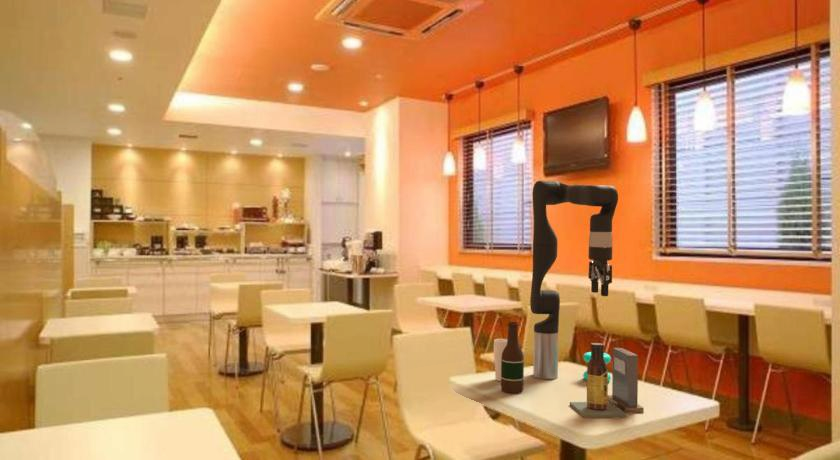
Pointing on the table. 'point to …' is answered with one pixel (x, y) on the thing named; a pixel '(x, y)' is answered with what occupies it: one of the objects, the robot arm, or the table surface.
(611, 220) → the robot arm
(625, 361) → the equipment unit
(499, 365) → the drinking glass
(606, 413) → the mat
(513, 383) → the beer bottle
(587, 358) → the donuts
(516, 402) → the table surface
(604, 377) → the sauce bottle
